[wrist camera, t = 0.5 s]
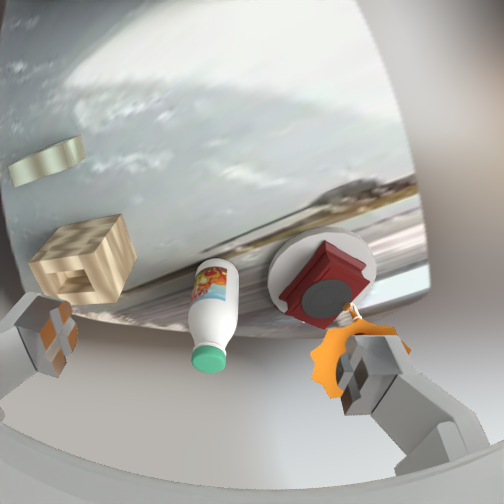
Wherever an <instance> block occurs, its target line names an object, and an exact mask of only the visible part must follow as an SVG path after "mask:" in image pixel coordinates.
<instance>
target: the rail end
mask: <svg viewBox="0 0 504 504" xmlns="http://www.w3.org/2000/svg"><path fill="white" fill-rule="evenodd" d="M85 158H86V154H85V151H84V147H83V143H82V139H81V135H79V136H76V137H73V138H70V139H67V140H65V141H62V142H59V143H57V144H54V145H52V146H49V147H47V148H44V149H42V150H39V151H37V152H34V153H32V154H30V155H27V156H25V157H23V158H22V159H20V160H18V161H16V162H15V163H13V164H11V165H9V166H8V170H9V173H10V176H11V179H12V182H13V185H14V188H15V187H18V186H20V185H23V184H26V183H28V182H31V181H34V180H36V179H39V178H42V177H45V176H48V175H51V174H54V173H57V172H60V171H63V170H66V169H69V168H71V167H73V166H74V165H76V164H77V163H79V162H80V161H82V160H83V159H85Z"/></svg>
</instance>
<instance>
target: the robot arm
mask: <svg viewBox="0 0 504 504" xmlns="http://www.w3.org/2000/svg"><path fill="white" fill-rule="evenodd" d="M72 312H73V311H72V308H71V304H70V303H69V302H68V301H66V300H63V299H59V298H55V297H51V296H47V295H44V294H39V293H35V292H27V293H26V294H25V295H24V296H23V297H22V298H21V299H20V300H19V301H18V302H17V304H16V305H15V306H14V307H13V308H12V309H11V310H10V311H9V313H8V314H7V315H6V316H5V317H4V318H3V320H2V321H0V399H1V398H3V397H4V396H5V395H7V394H8V393H10V392H11V391H12V390H14V389H15V388H16V387H18V386H19V385H20V384H22V383H23V382H24V381H26V380H27V379H29V378H30V377H31V376H33V375H34V374H35V373H36V371H37V372H41V373H43V374H46V375H50V376H53V377H56V378H58V377H59V375H60V374H61V372H62V370H63V368H64V366H65V365H66V363H67V362H66V357H65V356H67V355H69V354H70V353H72V352H73V350H74V348H75V347H76V343H77V339H78V330H77V326H76V323H75V322H74V321H73V319H72V318H71V317H70V316H71V314H72ZM345 348H346V352H345V353H343V354H342V355H341V356H340V357H339V360H338V362H337V366H336V381H337V386H338V387H339V388H340V389H341V390H343V391H344V392H343V394H342V396H341V402H342V406H343V410H344V414H345V416H347V415H370V414H371V417H372V418H373V419H374V420H375V421H376V422H377V423H378V424H379V426H380V427H382V429H383V430H384V431H385V432H386V433H387V434H388V436H389V437H390V438H391V439H392V440H393V441H394V442H395V443H396V444H397V445H398V446H399V448H400V449H401V450H402V451H403V452H404V453H405V454H406V455H407V456H406V457H405V458H404V459H403V460H402V461H401V462H399V463H398V464H397V466H396V467H395V468H394V469H395V473H396V476H395V477H391V478H386V479H381V480H375V481H370V482H364V483H357V484H350V485H343V486H334V487H323V488H310V489H289V490H255V489H234V488H221V487H210V486H201V485H193V484H186V483H180V482H174V481H168V480H163V479H158V478H153V477H147V476H143V475H139V474H135V473H131V472H127V471H123V470H119V469H116V468H112V467H109V466H105V465H102V464H99V463H96V462H92V461H89V460H86V459H83V458H81V457H78V456H75V455H72V454H70V453H67V452H64V451H62V450H59V449H56V448H54V447H52V446H50V445H47V444H45V443H42V442H40V441H38V440H36V439H34V438H31V437H29V436H27V435H25V434H23V433H21V432H19V431H17V430H15V429H13V428H11V427H9V426H7V425H6V424H4V423H2V421H3V419H4V417H5V414H4V411H3V410H2V409H1V407H0V504H504V440H503V441H500V442H498V443H496V444H494V445H491V446H490V443H489V442H488V439H487V437H486V435H485V432H484V430H483V428H482V426H481V424H480V422H479V420H478V418H477V416H476V414H475V413H474V412H473V411H472V410H470V409H469V408H468V407H466V406H465V405H464V404H462V403H461V402H460V401H458V400H457V399H456V398H454V397H453V396H452V395H450V394H449V393H448V392H446V391H445V390H444V389H442V388H441V387H439V386H438V385H437V384H436V383H434V382H433V381H432V380H430V379H429V378H427V377H426V376H425V375H423V374H422V373H417V371H416V369H415V368H414V365H413V363H412V361H411V359H410V357H409V355H408V353H407V351H406V349H405V347H404V346H403V344H402V342H401V340H400V338H399V337H398V336H397V335H381V336H379V335H350V336H349V338H348V339H347V341H346V343H345Z"/></svg>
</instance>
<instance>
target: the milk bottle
mask: <svg viewBox="0 0 504 504" xmlns="http://www.w3.org/2000/svg"><path fill="white" fill-rule="evenodd" d="M238 294H239V275H238V271H237V269H236V268H235V267H234V265H233V264H231V263H230V262H228V261H227V260H224V259H220V258H213V259H209V260H206V261H205V262H203V263H202V264H201V265H200V266H199V267H198V269H197V272H196V276H195V280H194V285H193V290H192V295H191V301H190V306H189V314H188V324H189V329H190V332H191V334H192V337H193V339H194V342H195V347H194V348H193V354H192V365H193V366H194V367H195V368H196V369H197V370H199V371H202V372H206V373H216V372H219V371H221V370H222V369H223V368H224V367H225V364H226V351H225V347H226V345H227V343H228V341H229V340H230V339H231V337H232V336H233V334H234V332H235V329H236V325H237V319H238Z"/></svg>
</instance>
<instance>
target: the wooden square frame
mask: <svg viewBox="0 0 504 504" xmlns="http://www.w3.org/2000/svg"><path fill="white" fill-rule="evenodd" d="M136 260H137V256H136V254H135V251H134V248H133V245H132V243H131V240H130V237H129V234H128V231H127V228H126V225H125V222H124V219H123V216H122V214H119V215H114V216H109V217H104V218H99V219H94V220H89V221H84V222H79V223H74V224H70V225H65V226H60V227H59V228H58V230H57V231H56V232H55V233H54V234H53V235H52V236H51V237H50V238H49V239H48V240H47V242H46V243H45V244H44V245H43V246H42V247H41V248H40V250H39V251H38V252H37V253H36V254H35V255H34V257H33V258H32V259H31V260H30V261H29V263H28V264H29V266H30V268H31V270H32V272H33V274H34V276H35V278H36V279H37V281H38V283H39V285H40V287H41V288H42V290H43V292H44V294H45V295H47V296H51V297H55V298H59V299H63V300H66V301H68V302H69V303H70V304H71V305H80V304H98V303H114V302H117V300H118V298H119V296H120V293H121V291H122V289H123V287H124V285H125V283H126V280H127V278H128V276H129V274H130V272H131V270H132V268H133V266H134V264H135V262H136Z"/></svg>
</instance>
